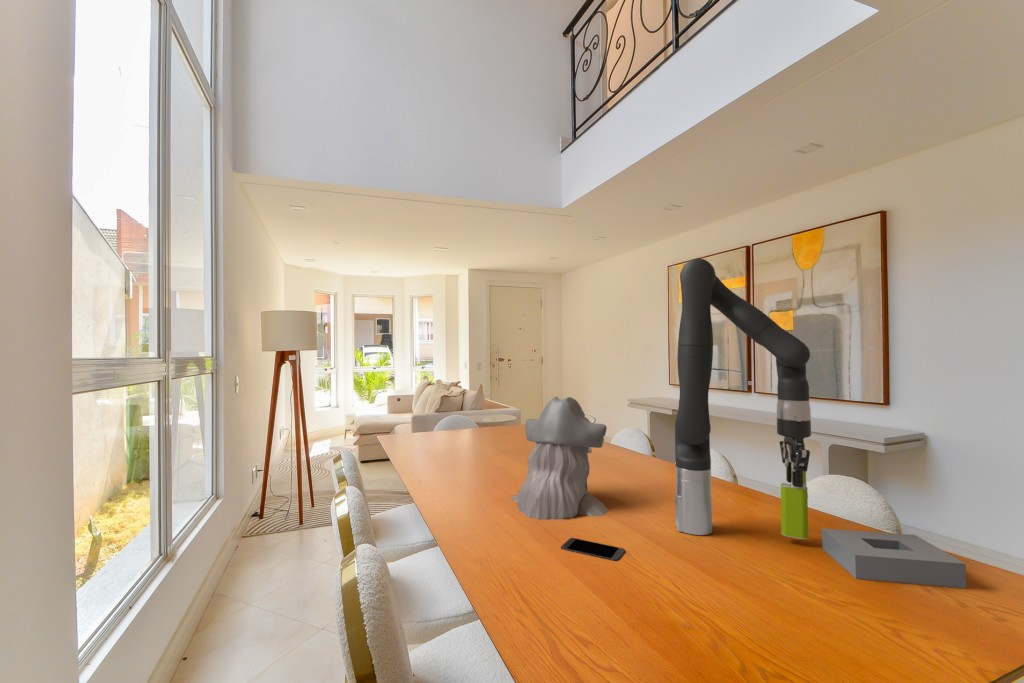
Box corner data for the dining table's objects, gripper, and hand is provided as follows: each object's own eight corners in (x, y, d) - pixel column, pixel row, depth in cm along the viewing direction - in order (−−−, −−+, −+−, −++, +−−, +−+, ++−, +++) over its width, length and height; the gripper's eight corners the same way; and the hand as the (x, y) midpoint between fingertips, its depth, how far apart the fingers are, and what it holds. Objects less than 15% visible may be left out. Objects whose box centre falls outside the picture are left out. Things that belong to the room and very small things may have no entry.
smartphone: (618, 563, 106) (618, 559, 106) (559, 550, 114) (559, 546, 114) (626, 552, 112) (626, 548, 113) (570, 540, 120) (570, 537, 120)
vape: (809, 540, 114) (808, 459, 115) (781, 535, 117) (780, 456, 118) (808, 535, 117) (807, 457, 118) (781, 530, 120) (780, 454, 121)
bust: (625, 498, 155) (623, 396, 157) (586, 529, 126) (585, 404, 128) (538, 484, 173) (538, 392, 175) (487, 509, 144) (487, 399, 146)
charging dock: (855, 578, 98) (855, 555, 98) (822, 548, 113) (821, 528, 114) (966, 588, 93) (965, 563, 94) (915, 555, 109) (914, 534, 109)
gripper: (768, 413, 125) (769, 476, 125) (787, 420, 112) (788, 491, 111) (798, 414, 124) (799, 478, 123) (821, 421, 110) (823, 493, 109)
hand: (794, 484), depth 117 cm, fingers closed on vape, 3 cm apart
